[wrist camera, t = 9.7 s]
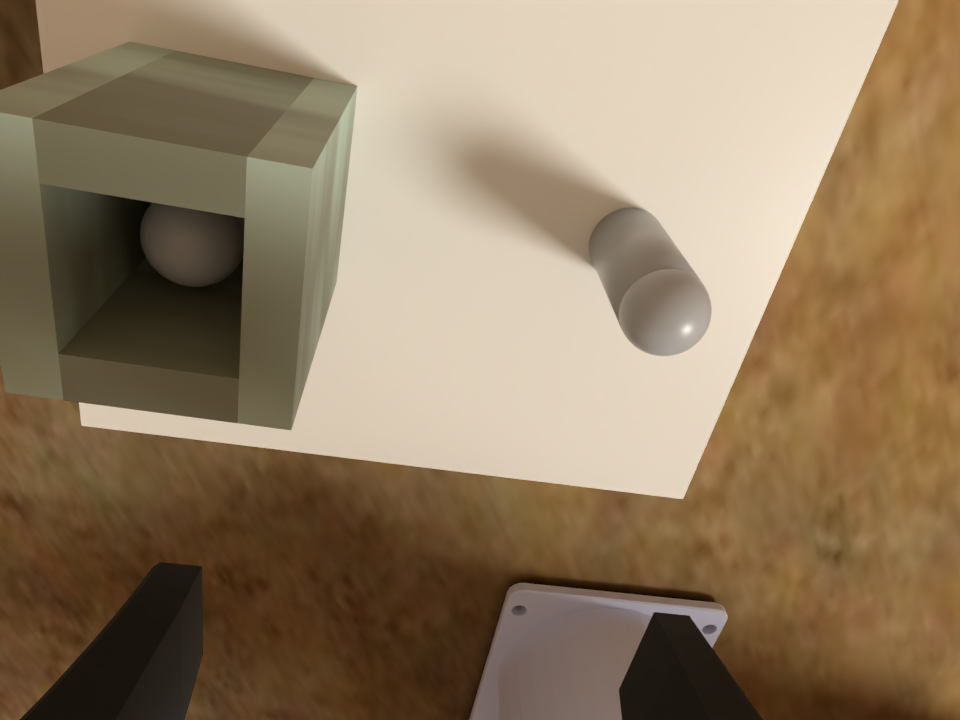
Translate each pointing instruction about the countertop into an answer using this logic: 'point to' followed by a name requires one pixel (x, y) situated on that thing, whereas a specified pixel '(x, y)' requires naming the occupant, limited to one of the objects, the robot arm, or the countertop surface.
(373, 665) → the countertop surface
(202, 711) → the countertop surface
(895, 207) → the countertop surface
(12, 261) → the square socket block
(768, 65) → the jig board
